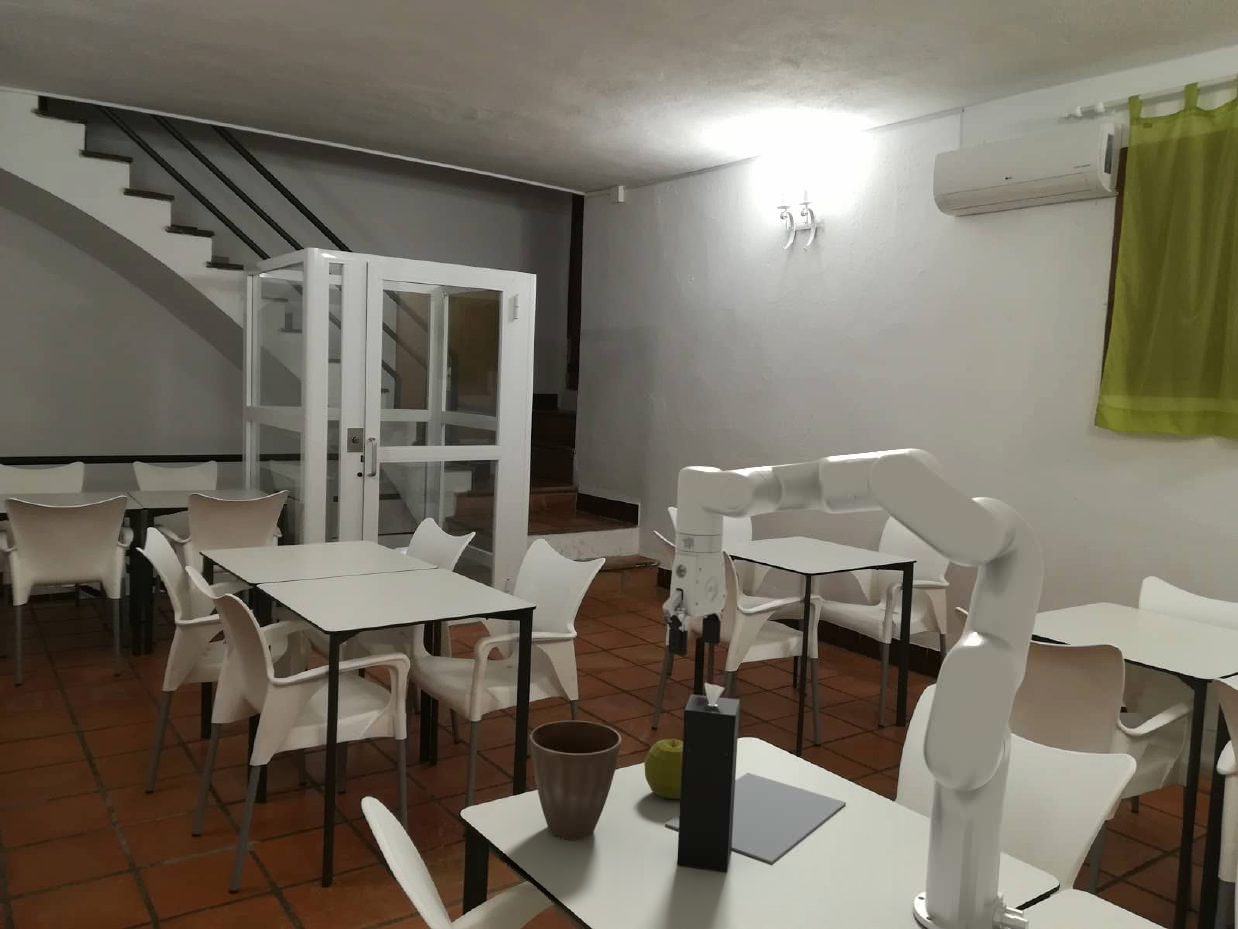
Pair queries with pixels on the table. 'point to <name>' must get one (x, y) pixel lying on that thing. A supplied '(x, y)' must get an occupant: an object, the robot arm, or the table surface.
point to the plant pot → (573, 774)
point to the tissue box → (708, 780)
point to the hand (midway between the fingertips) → (694, 648)
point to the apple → (665, 768)
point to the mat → (773, 816)
